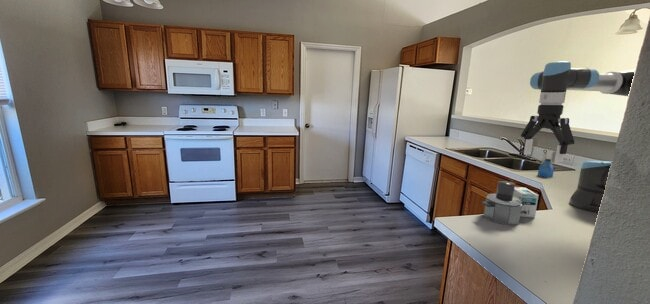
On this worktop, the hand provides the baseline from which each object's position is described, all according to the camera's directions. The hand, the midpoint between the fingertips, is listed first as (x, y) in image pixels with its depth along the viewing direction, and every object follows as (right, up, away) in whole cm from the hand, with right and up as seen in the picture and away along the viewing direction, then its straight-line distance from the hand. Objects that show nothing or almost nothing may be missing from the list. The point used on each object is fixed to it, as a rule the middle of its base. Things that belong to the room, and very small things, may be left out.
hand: (542, 158), depth 108 cm
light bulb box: (+3, -26, +16) cm, 31 cm away
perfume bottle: (+65, -14, +78) cm, 103 cm away
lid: (-10, -20, +9) cm, 24 cm away
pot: (-10, -26, +10) cm, 30 cm away
